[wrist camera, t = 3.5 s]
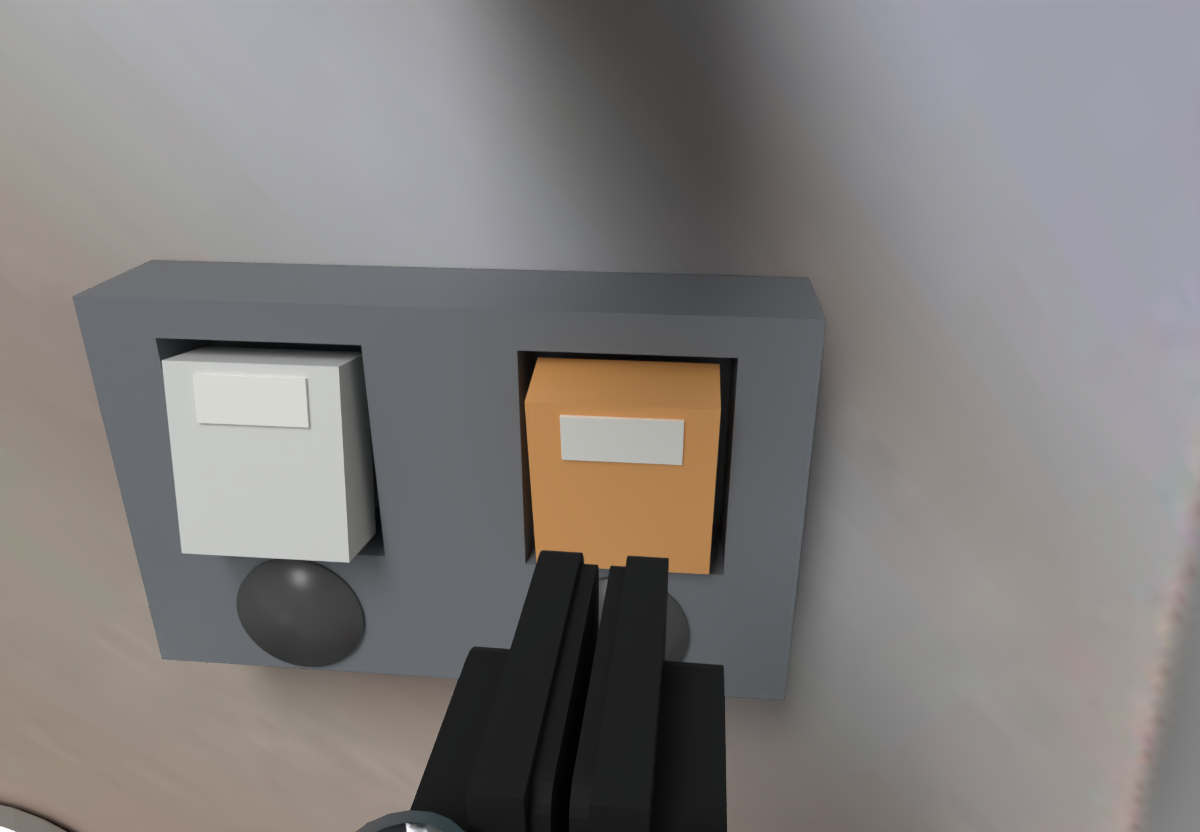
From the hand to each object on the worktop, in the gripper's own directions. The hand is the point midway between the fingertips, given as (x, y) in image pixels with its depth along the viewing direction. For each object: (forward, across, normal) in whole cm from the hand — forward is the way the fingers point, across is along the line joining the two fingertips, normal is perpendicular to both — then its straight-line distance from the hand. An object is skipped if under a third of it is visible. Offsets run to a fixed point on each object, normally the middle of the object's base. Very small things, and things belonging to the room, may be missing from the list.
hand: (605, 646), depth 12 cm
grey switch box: (+14, +5, +4) cm, 15 cm away
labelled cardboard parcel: (+10, +1, +3) cm, 11 cm away
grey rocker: (+10, +10, +3) cm, 14 cm away
